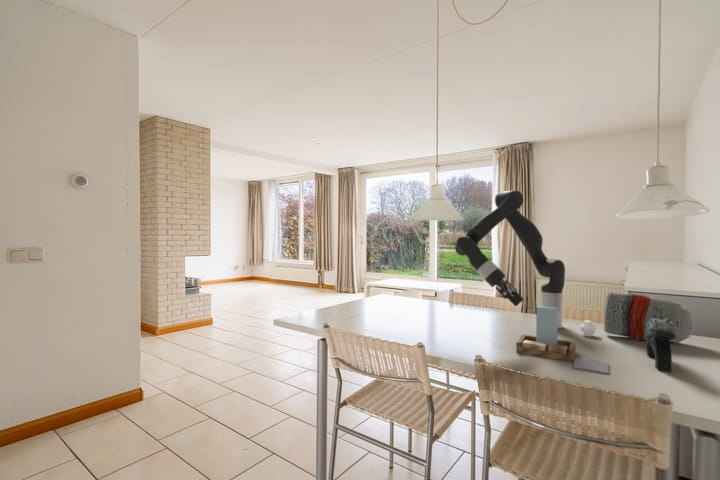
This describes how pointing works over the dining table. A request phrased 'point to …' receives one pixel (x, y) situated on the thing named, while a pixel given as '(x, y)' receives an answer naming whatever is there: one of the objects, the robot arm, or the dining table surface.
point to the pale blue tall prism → (547, 325)
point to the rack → (547, 354)
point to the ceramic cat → (660, 341)
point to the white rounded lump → (588, 328)
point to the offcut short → (558, 349)
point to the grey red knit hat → (644, 315)
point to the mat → (591, 366)
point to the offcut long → (534, 345)
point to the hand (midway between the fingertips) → (519, 302)
